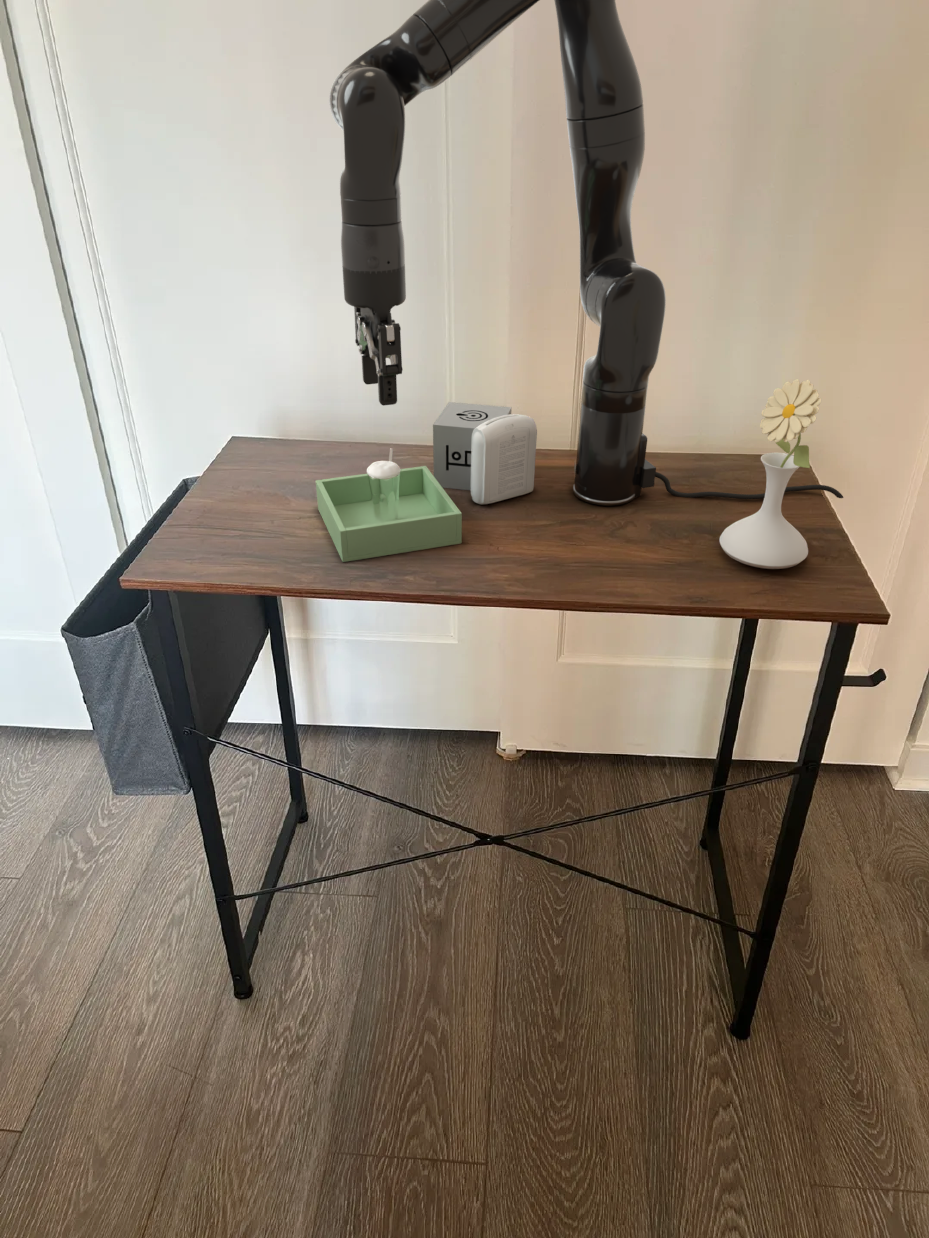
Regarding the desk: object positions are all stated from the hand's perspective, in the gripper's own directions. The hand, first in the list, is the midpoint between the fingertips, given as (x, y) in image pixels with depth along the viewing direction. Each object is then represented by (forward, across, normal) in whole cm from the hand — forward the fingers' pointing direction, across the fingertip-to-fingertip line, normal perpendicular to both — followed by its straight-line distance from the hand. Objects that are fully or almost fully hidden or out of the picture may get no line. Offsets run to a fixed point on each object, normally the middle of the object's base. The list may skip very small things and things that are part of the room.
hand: (379, 393), depth 116 cm
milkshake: (+19, 0, 0) cm, 19 cm away
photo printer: (+19, +4, -19) cm, 28 cm away
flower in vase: (+19, -25, -45) cm, 55 cm away
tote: (+19, 0, 0) cm, 19 cm away
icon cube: (+20, +12, -17) cm, 29 cm away
